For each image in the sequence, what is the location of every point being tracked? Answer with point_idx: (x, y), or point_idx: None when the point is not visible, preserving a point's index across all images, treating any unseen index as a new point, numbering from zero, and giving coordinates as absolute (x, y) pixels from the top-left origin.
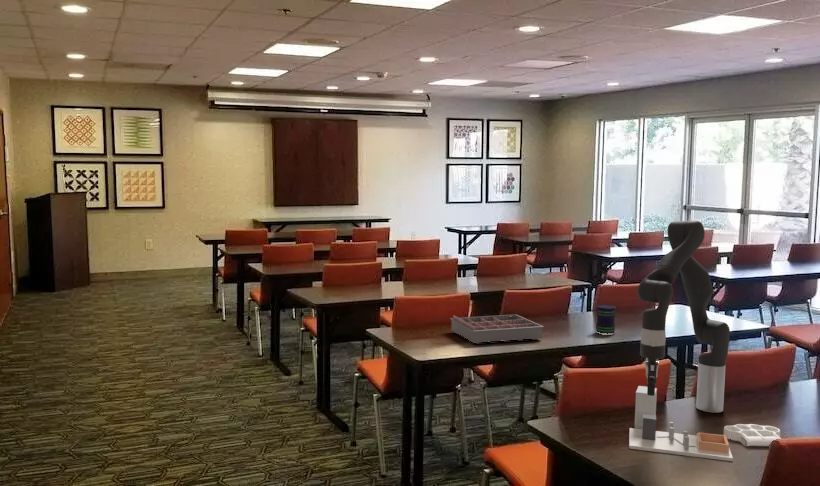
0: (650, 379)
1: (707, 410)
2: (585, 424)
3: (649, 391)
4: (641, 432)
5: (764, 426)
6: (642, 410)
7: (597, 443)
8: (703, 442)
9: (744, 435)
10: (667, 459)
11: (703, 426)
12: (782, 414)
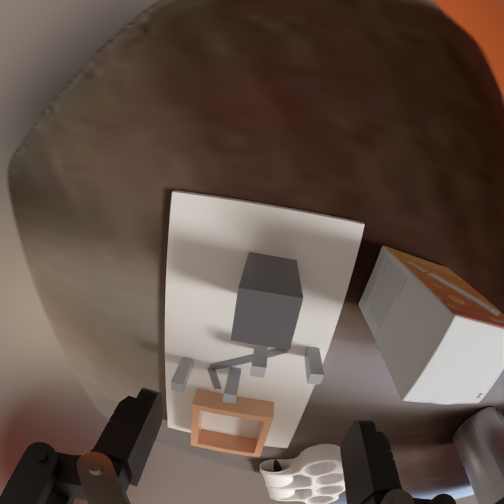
0: (359, 482)
1: (462, 427)
2: (399, 67)
3: (117, 412)
4: (319, 261)
5: (333, 496)
6: (398, 303)
7: (203, 80)
8: (192, 410)
9: (279, 475)
10: (123, 295)
11: (389, 420)
12: (416, 492)
